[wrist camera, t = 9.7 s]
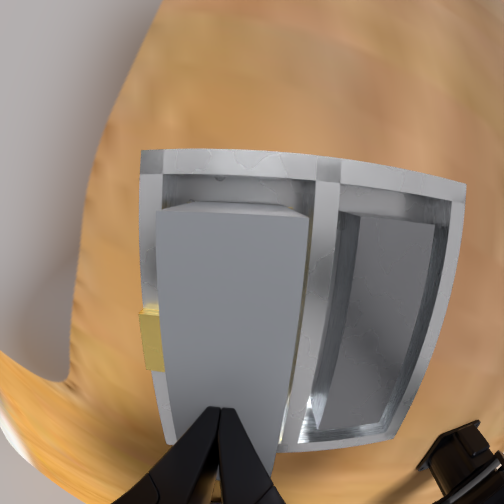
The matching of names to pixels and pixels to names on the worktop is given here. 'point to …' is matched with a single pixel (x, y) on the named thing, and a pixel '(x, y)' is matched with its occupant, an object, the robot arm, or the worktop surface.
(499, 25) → the worktop surface
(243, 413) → the panel
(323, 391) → the rack
